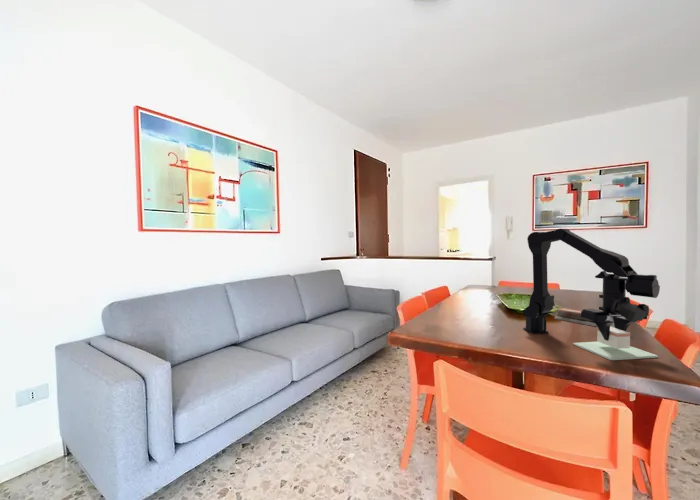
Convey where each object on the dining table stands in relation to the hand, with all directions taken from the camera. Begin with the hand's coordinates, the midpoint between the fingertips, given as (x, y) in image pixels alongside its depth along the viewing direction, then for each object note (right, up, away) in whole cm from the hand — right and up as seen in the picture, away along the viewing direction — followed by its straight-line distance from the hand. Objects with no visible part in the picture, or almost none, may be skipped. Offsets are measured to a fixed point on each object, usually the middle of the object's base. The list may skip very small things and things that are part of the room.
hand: (612, 339), depth 101 cm
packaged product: (+16, -3, +35) cm, 39 cm away
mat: (0, -4, 0) cm, 4 cm away
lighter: (+18, -3, +20) cm, 27 cm away
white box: (0, -2, 0) cm, 2 cm away
